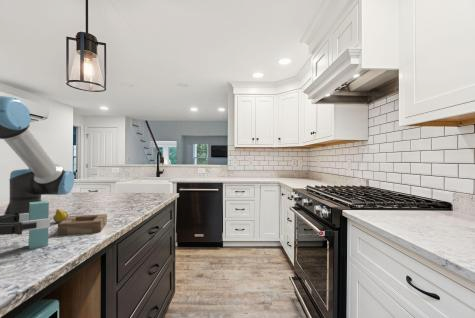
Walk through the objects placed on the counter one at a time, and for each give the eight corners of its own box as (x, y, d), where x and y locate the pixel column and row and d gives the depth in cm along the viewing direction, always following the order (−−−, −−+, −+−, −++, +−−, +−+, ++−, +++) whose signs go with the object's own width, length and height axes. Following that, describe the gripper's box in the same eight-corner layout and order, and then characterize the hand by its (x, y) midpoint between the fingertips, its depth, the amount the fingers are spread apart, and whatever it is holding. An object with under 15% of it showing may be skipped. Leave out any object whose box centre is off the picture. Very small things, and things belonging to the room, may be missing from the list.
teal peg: (28, 245, 80) (29, 202, 80) (46, 242, 83) (46, 200, 83) (29, 249, 76) (30, 204, 76) (48, 245, 80) (48, 202, 80)
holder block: (69, 225, 104) (69, 216, 104) (106, 223, 108) (106, 214, 108) (57, 235, 91) (57, 224, 91) (100, 232, 95) (100, 221, 95)
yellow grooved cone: (71, 221, 113) (67, 209, 106) (58, 228, 109) (53, 216, 102) (66, 213, 114) (61, 201, 108) (53, 220, 111) (47, 208, 104)
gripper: (-47, 234, 75) (42, 222, 90) (-61, 258, 57) (52, 239, 72) (-46, 210, 75) (42, 202, 90) (-60, 226, 57) (53, 213, 72)
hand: (47, 218), depth 81 cm, fingers open, 13 cm apart
